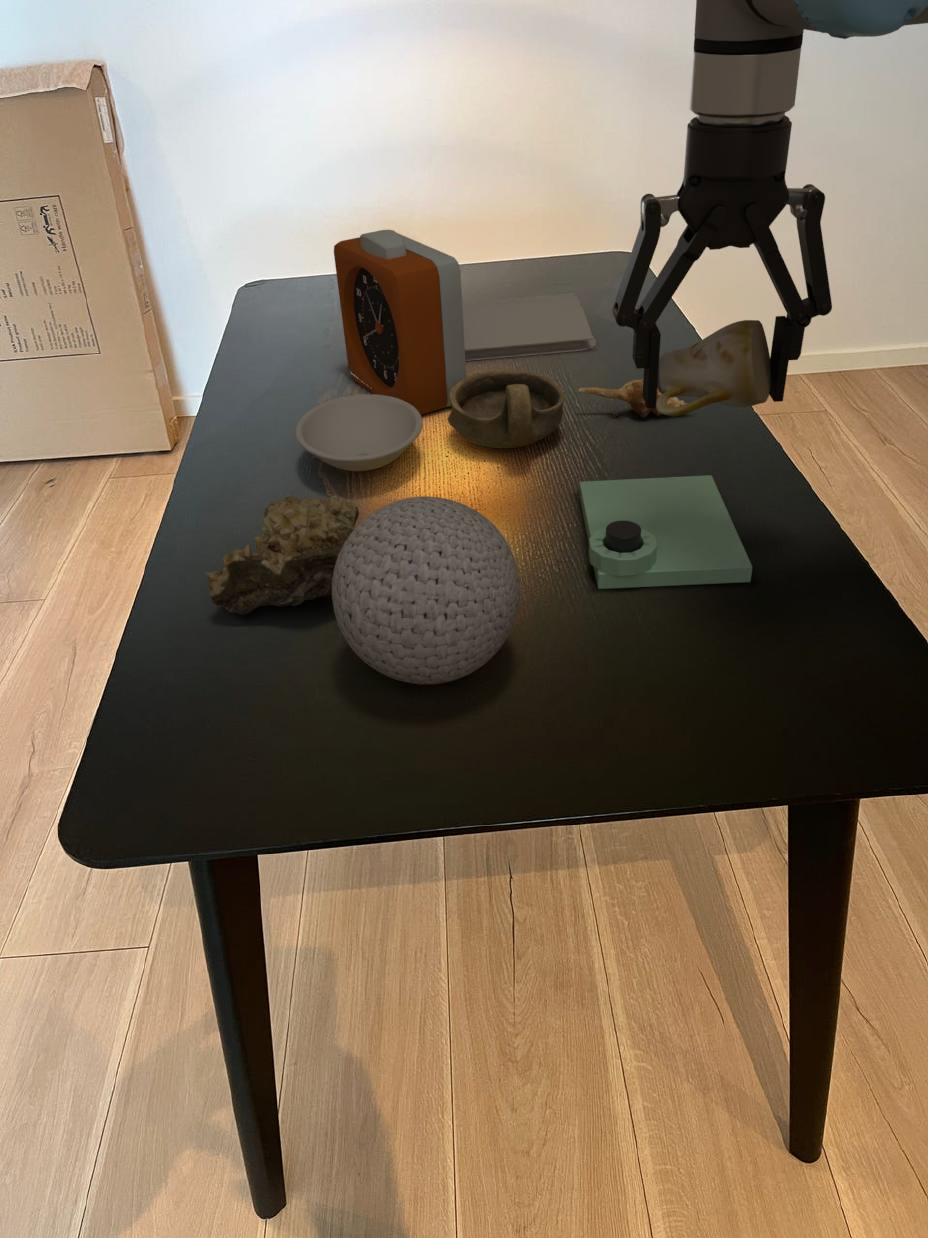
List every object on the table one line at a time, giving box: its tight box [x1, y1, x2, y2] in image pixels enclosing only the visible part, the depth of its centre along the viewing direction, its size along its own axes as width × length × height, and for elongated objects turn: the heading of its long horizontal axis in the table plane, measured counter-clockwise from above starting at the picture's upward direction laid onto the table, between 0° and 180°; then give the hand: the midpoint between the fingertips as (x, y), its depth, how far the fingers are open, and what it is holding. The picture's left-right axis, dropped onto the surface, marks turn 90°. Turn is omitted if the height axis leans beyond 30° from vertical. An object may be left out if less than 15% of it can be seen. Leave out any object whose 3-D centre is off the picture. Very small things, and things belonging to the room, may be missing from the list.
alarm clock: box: [333, 229, 467, 416], centre depth 124 cm, size 18×9×21 cm, turn 31°
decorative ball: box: [331, 496, 521, 685], centre depth 78 cm, size 15×15×15 cm
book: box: [462, 292, 597, 362], centre depth 143 cm, size 15×23×4 cm, turn 96°
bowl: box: [447, 369, 565, 449], centre depth 112 cm, size 14×18×10 cm
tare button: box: [605, 521, 641, 553], centre depth 90 cm, size 3×3×2 cm
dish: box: [295, 393, 424, 472], centre depth 112 cm, size 18×14×5 cm
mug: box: [656, 319, 771, 417], centre depth 83 cm, size 8×10×10 cm
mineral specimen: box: [204, 495, 360, 616], centre depth 90 cm, size 14×13×10 cm
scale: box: [578, 474, 753, 590], centre depth 96 cm, size 18×15×4 cm
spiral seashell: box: [577, 378, 688, 418], centre depth 119 cm, size 14×5×4 cm, turn 101°
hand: (711, 398), depth 85 cm, fingers closed on mug, 10 cm apart
